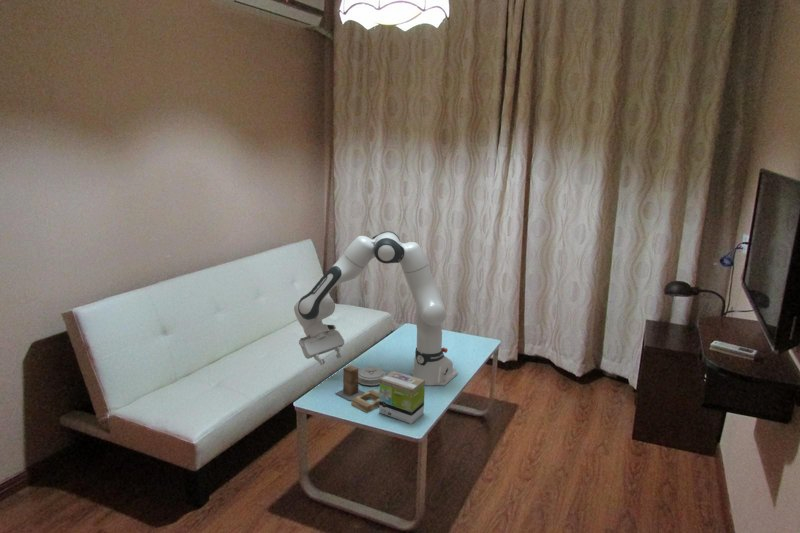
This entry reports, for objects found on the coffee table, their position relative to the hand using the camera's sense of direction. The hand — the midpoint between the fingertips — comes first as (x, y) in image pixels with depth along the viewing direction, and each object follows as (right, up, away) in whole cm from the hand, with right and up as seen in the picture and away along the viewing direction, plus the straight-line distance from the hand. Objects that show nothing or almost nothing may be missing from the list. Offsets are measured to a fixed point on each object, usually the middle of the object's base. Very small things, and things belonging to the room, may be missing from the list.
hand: (331, 360), depth 223 cm
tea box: (+30, -17, -20) cm, 40 cm away
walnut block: (+9, -13, -5) cm, 16 cm away
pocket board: (+17, -15, -12) cm, 26 cm away
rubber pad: (+9, -13, -5) cm, 17 cm away
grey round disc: (+17, -11, +8) cm, 21 cm away
